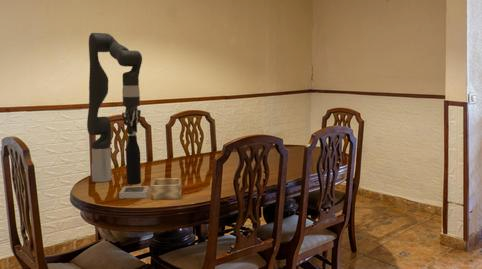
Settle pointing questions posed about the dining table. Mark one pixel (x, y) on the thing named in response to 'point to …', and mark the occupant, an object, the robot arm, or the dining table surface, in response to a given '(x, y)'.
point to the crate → (166, 189)
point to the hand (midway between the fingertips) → (132, 133)
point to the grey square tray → (134, 192)
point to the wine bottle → (133, 158)
